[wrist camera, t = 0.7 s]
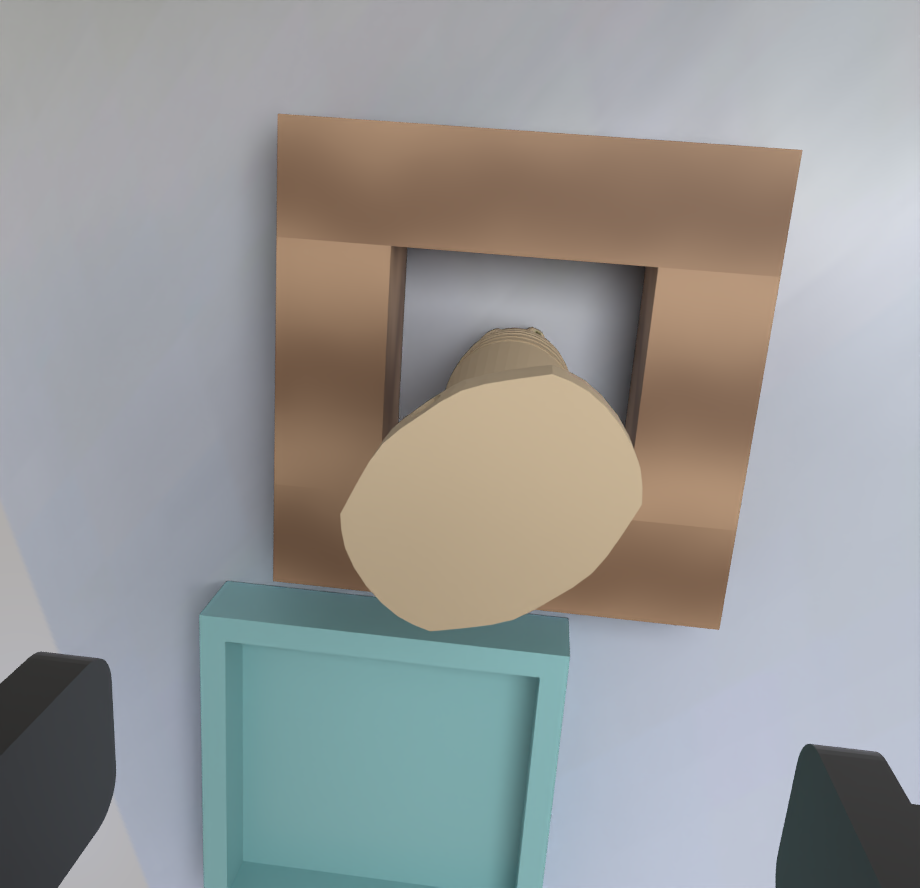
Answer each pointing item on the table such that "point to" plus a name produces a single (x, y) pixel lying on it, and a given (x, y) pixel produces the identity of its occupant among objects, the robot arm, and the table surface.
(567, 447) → the handle
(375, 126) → the socket block
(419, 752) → the tray
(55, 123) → the table surface
